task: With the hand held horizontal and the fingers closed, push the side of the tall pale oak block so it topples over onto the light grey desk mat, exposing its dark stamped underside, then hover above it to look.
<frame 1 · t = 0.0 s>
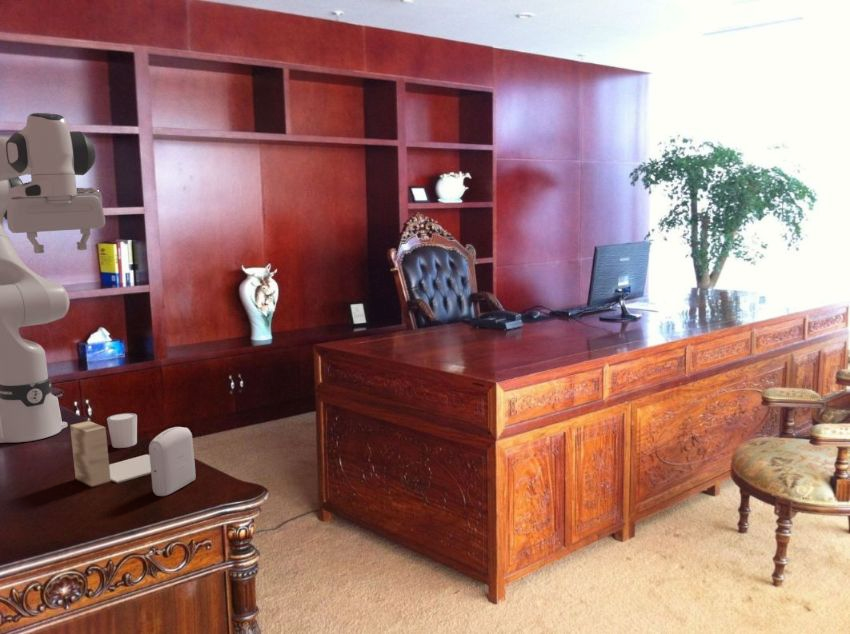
hand: (61, 251, 179), 48 cm above the table, tool pointing down, fingers open, 8 cm apart
white tapered cup: (124, 445, 197), on the table
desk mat: (133, 468, 178), on the table
oak block: (93, 480, 172), on the table
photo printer: (175, 488, 166), on the table
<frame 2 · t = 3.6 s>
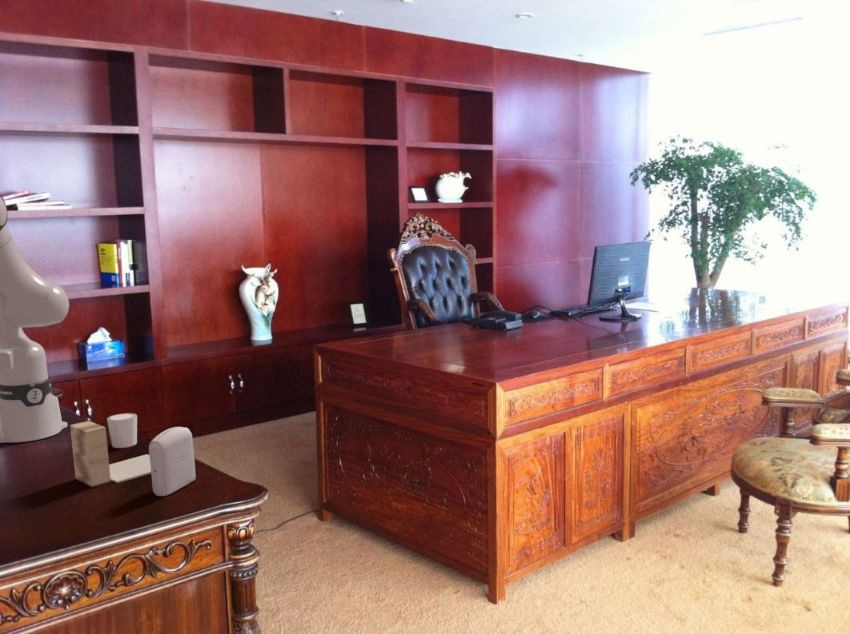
hand: (19, 350, 159), 30 cm above the table, tool horizontal, fingers closed
nothing on the table moved.
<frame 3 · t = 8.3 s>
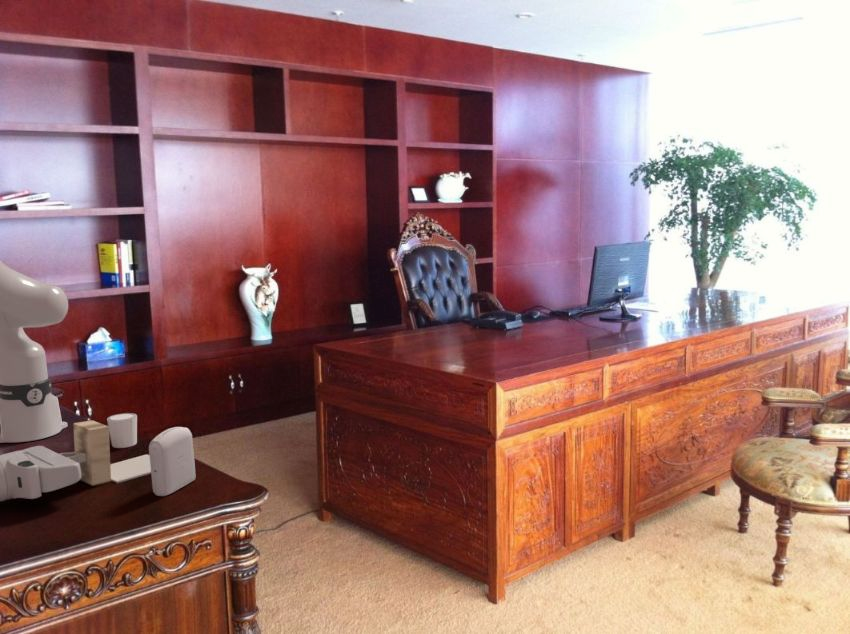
hand: (83, 455, 169), 6 cm above the table, tool horizontal, fingers closed, pressing on oak block
oak block: (93, 480, 172), on the table, touching gripper
everything else where it was.
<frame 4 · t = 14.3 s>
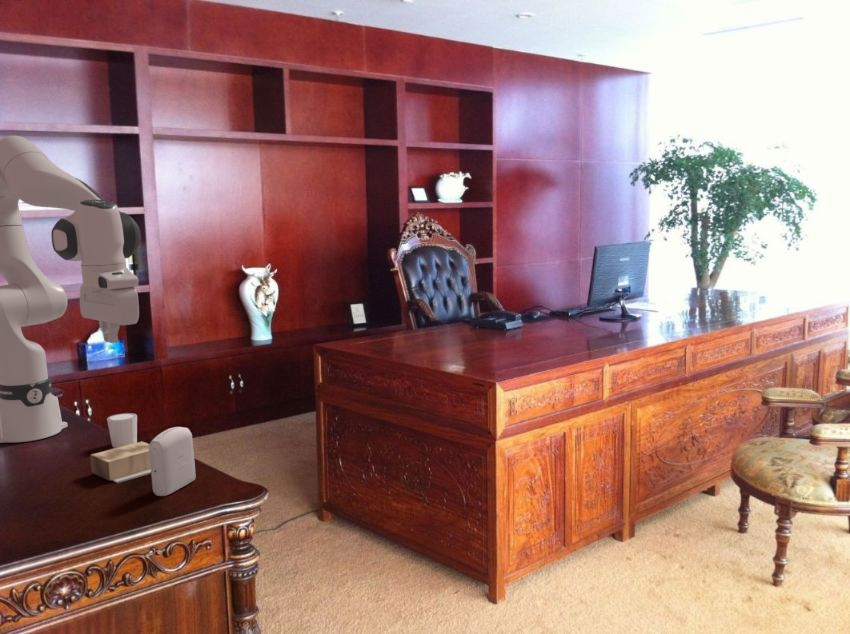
hand: (111, 341, 172), 29 cm above the table, tool pointing down, fingers closed
oak block: (99, 467, 173), point 2 cm above the table, tilted 90°, touching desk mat
everything else where it was.
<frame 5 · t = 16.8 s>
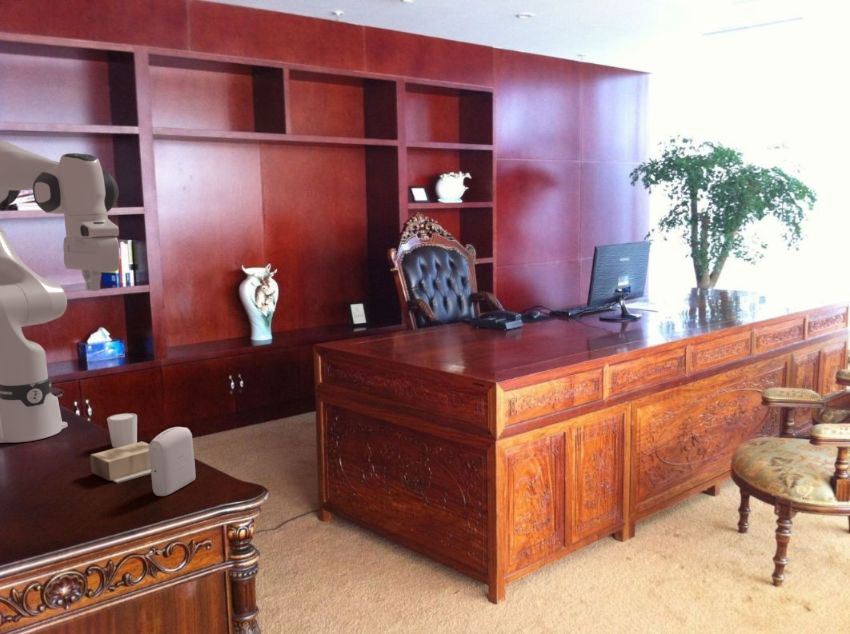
hand: (93, 290, 180), 39 cm above the table, tool pointing down, fingers closed
nothing on the table moved.
at the end: oak block tilted 90°; oak block inside the target area (4.4 cm from its centre), point 2.4 cm above the table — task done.
